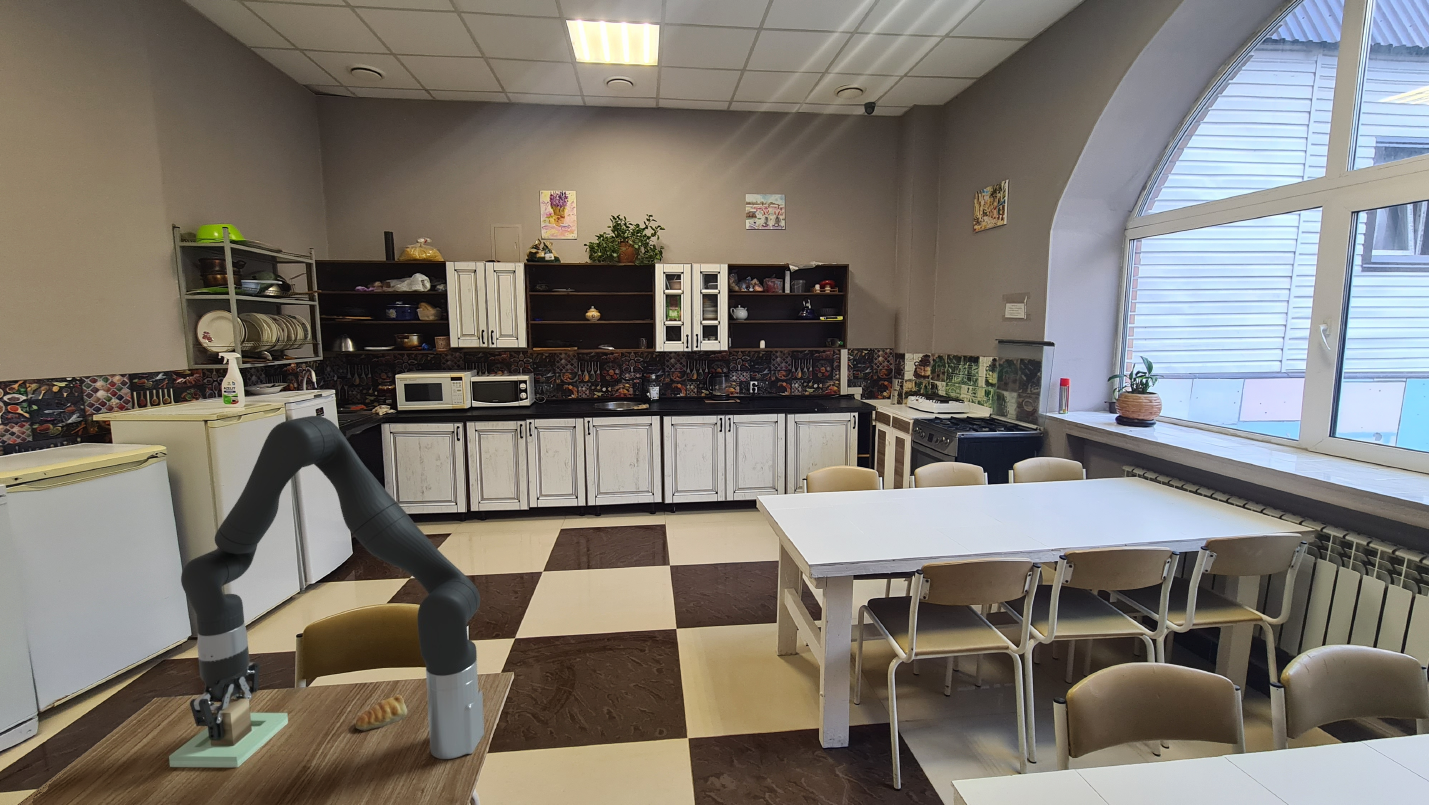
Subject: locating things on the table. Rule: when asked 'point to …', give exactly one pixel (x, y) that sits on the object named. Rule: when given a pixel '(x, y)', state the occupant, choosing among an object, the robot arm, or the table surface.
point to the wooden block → (235, 722)
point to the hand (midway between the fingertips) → (230, 728)
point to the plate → (206, 755)
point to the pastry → (382, 714)
